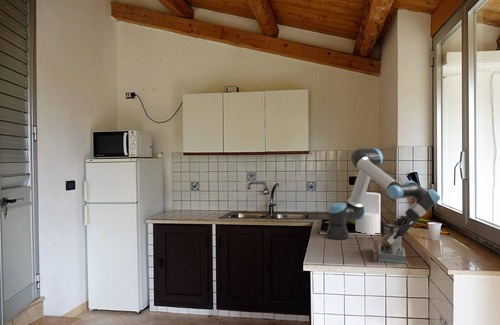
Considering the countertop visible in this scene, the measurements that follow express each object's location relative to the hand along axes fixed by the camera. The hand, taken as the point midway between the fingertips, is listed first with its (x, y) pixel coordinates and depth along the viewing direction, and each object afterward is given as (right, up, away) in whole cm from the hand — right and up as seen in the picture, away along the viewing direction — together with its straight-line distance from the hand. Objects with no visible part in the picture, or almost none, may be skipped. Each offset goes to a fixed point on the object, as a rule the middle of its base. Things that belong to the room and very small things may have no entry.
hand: (386, 239), depth 198 cm
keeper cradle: (+3, -10, 0) cm, 10 cm away
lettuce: (+14, -6, +86) cm, 87 cm away
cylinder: (+10, -7, +60) cm, 61 cm away
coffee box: (+3, -8, 0) cm, 8 cm away
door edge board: (-5, -10, +3) cm, 12 cm away
